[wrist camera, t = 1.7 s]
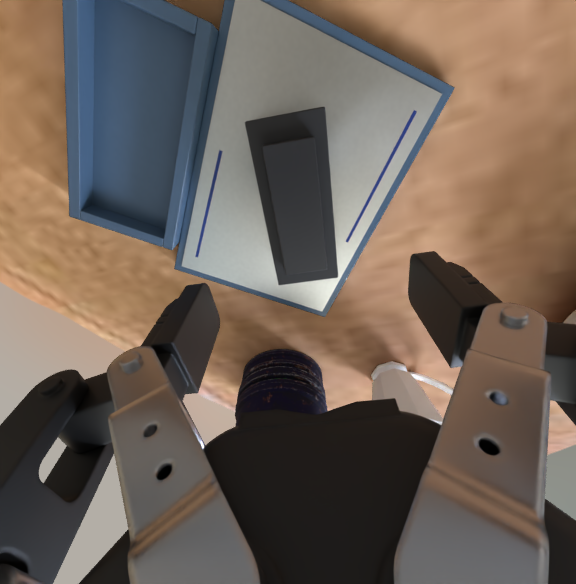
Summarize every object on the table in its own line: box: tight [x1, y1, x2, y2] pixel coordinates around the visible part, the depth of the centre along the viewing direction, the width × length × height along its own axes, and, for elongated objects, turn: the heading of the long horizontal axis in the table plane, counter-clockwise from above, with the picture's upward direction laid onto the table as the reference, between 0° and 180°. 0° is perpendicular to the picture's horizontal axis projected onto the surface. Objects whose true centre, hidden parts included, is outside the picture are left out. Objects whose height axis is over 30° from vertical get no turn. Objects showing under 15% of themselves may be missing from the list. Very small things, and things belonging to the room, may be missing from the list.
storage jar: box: [235, 349, 327, 426], centre depth 28 cm, size 10×10×15 cm
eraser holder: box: [62, 0, 219, 250], centre depth 20 cm, size 15×8×3 cm, turn 159°
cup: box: [371, 361, 454, 425], centre depth 31 cm, size 7×10×8 cm
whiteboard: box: [174, 0, 454, 317], centre depth 23 cm, size 20×15×1 cm
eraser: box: [245, 107, 338, 285], centre depth 20 cm, size 11×5×5 cm, turn 9°
